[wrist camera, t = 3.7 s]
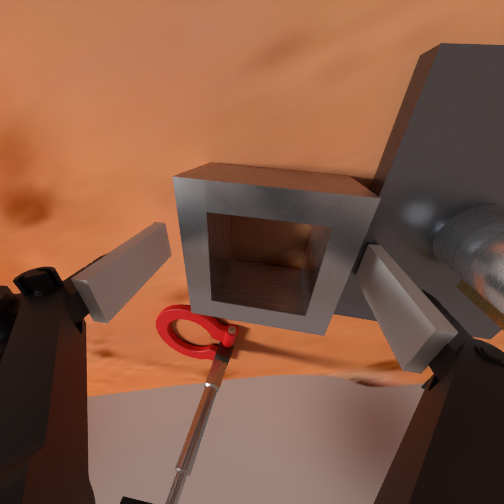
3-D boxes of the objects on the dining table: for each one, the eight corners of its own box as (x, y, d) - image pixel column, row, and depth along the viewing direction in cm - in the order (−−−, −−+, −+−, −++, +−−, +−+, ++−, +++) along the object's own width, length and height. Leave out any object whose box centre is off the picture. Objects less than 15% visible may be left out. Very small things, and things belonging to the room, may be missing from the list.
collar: (209, 162, 13) (172, 176, 9) (348, 175, 12) (381, 198, 8) (214, 270, 18) (191, 312, 14) (315, 285, 17) (324, 335, 13)
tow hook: (160, 336, 26) (226, 361, 25) (58, 483, 15) (173, 529, 15) (162, 291, 21) (243, 321, 21) (18, 454, 10) (183, 520, 10)
